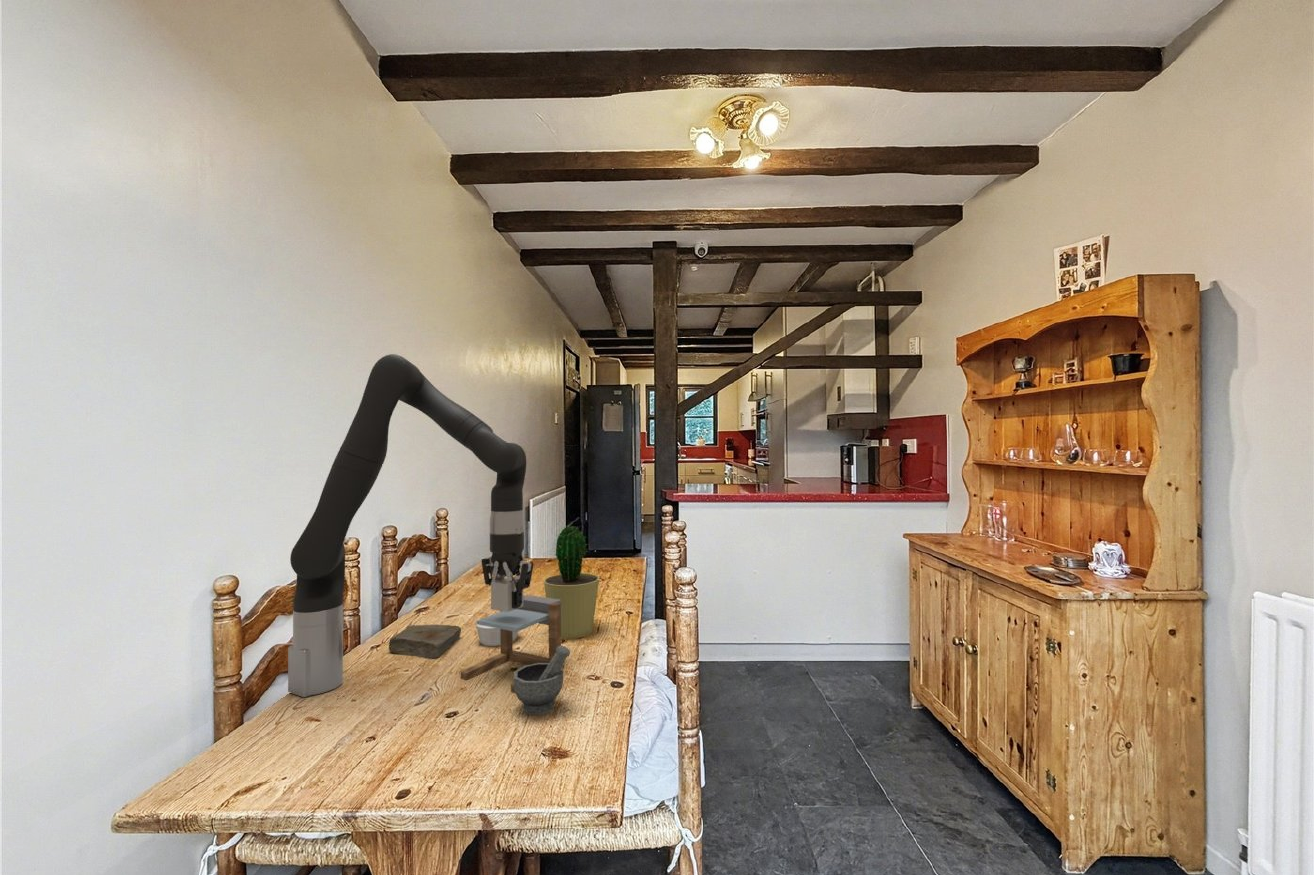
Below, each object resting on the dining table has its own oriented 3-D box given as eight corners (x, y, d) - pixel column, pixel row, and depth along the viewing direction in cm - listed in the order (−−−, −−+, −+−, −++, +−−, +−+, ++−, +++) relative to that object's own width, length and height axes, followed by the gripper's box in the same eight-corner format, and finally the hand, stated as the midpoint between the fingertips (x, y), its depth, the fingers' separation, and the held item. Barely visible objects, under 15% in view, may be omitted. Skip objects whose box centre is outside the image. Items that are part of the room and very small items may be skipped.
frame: (518, 693, 112) (517, 620, 112) (460, 678, 120) (460, 610, 120) (563, 667, 125) (562, 602, 125) (508, 655, 133) (508, 594, 133)
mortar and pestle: (505, 719, 101) (505, 654, 101) (521, 696, 110) (521, 637, 110) (564, 720, 100) (564, 655, 100) (576, 697, 109) (575, 638, 110)
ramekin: (467, 646, 140) (467, 625, 141) (493, 632, 151) (493, 613, 151) (503, 650, 137) (503, 629, 137) (527, 636, 147) (527, 616, 148)
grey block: (507, 612, 118) (507, 584, 118) (490, 609, 120) (491, 582, 121) (523, 606, 122) (523, 579, 123) (507, 603, 125) (507, 577, 125)
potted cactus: (576, 645, 139) (575, 529, 140) (532, 636, 147) (531, 526, 148) (610, 628, 152) (609, 522, 153) (568, 620, 160) (567, 519, 161)
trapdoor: (517, 641, 115) (517, 618, 115) (476, 633, 121) (476, 611, 121) (563, 621, 129) (563, 600, 129) (524, 614, 135) (524, 594, 135)
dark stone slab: (438, 660, 131) (437, 643, 132) (379, 660, 132) (379, 643, 132) (465, 637, 148) (465, 621, 148) (413, 637, 149) (413, 621, 149)
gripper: (471, 530, 122) (471, 606, 121) (519, 534, 115) (519, 614, 115) (495, 526, 129) (495, 598, 128) (542, 530, 122) (542, 605, 121)
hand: (507, 605), depth 121 cm, fingers closed on grey block, 5 cm apart
